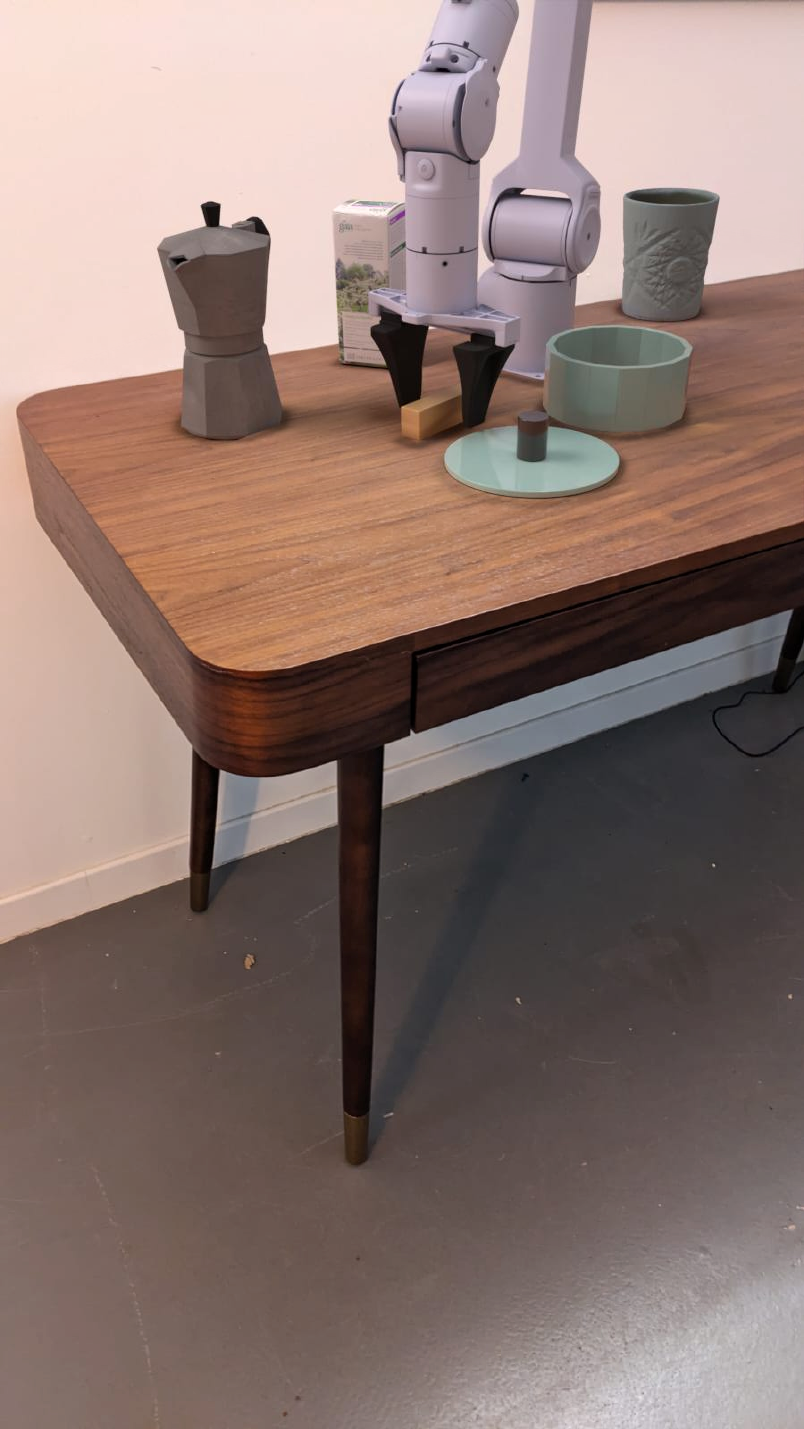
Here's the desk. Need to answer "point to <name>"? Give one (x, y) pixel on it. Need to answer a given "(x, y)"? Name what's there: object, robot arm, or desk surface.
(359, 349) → the syrup box
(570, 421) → the pot
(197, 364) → the coffeepot
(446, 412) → the tan wooden block
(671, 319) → the drinking glass
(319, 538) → the desk surface
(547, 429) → the lid
